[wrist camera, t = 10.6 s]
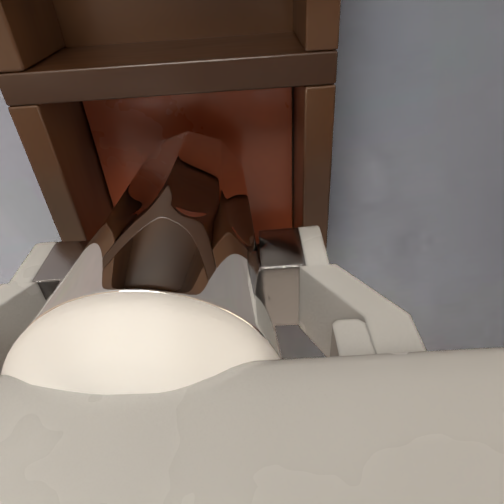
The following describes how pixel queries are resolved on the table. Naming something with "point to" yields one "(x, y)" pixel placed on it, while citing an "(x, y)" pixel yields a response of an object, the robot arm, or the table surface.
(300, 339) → the table surface
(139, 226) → the milkshake
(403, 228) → the table surface
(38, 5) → the compartment tray
